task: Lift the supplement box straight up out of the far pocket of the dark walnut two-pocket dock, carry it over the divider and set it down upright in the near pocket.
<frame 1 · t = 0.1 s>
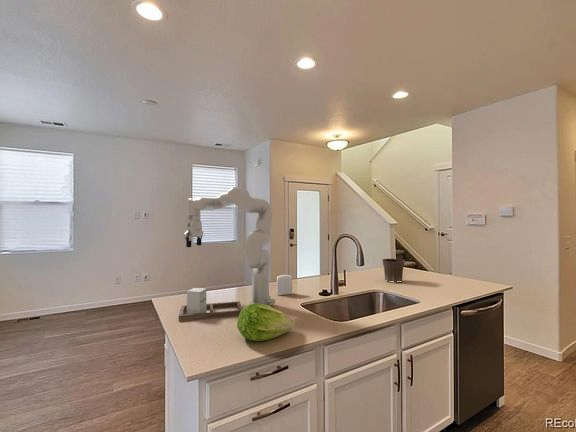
hand: (194, 246, 181), 31 cm above the worktop, fingers open, 9 cm apart
plant pot: (393, 281, 224), on the worktop
supplement box: (196, 314, 150), resting in dock
dock: (211, 312, 152), on the worktop
lettuce: (267, 337, 124), on the worktop
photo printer: (284, 294, 188), on the worktop
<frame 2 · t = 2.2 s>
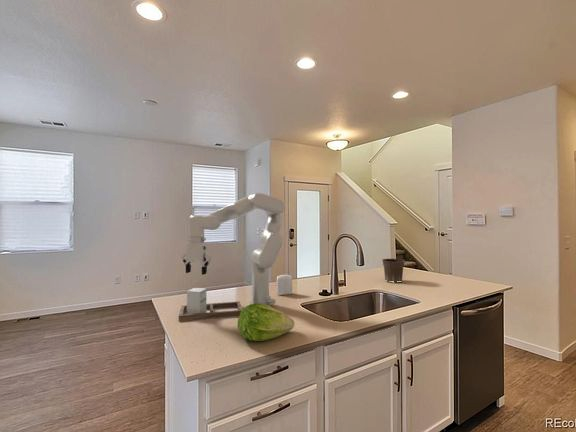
hand: (196, 273, 150), 21 cm above the worktop, fingers open, 9 cm apart
nothing on the worktop moved.
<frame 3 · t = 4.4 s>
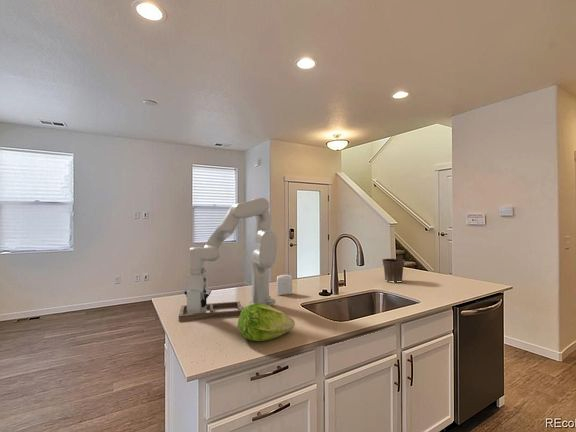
hand: (196, 305, 150), 5 cm above the worktop, fingers closed on supplement box, 8 cm apart
supplement box: (196, 314, 150), resting in dock, touching gripper
everything else where it was.
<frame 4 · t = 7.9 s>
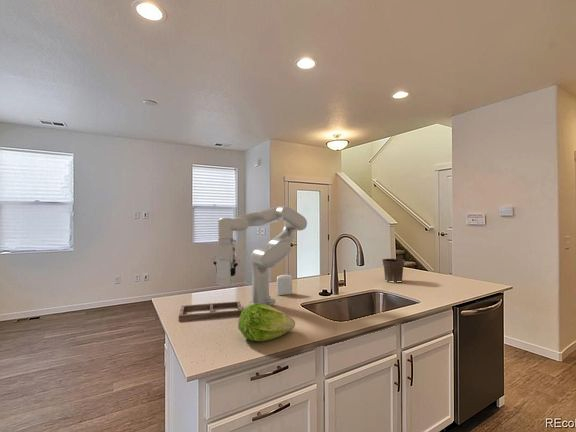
hand: (225, 274, 154), 19 cm above the worktop, fingers closed on supplement box, 8 cm apart
supplement box: (225, 283, 154), point 15 cm above the worktop, touching gripper
everything else where it was.
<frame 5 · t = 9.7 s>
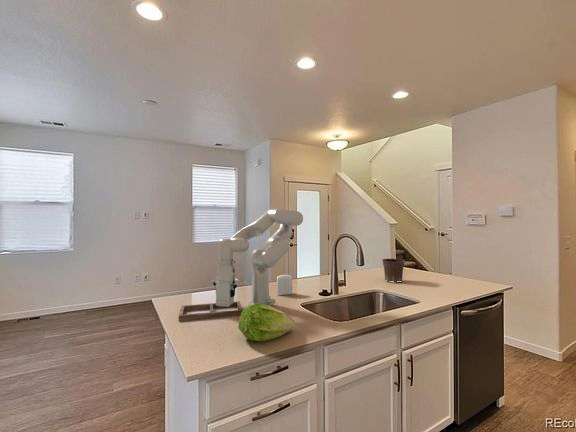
hand: (225, 295, 154), 8 cm above the worktop, fingers closed on supplement box, 8 cm apart
supplement box: (225, 304, 154), point 4 cm above the worktop, touching gripper
everything else where it was.
when the fingers open (5 cm above the worktop, at t = 11.4 s): supplement box stays where it is, resting in dock.
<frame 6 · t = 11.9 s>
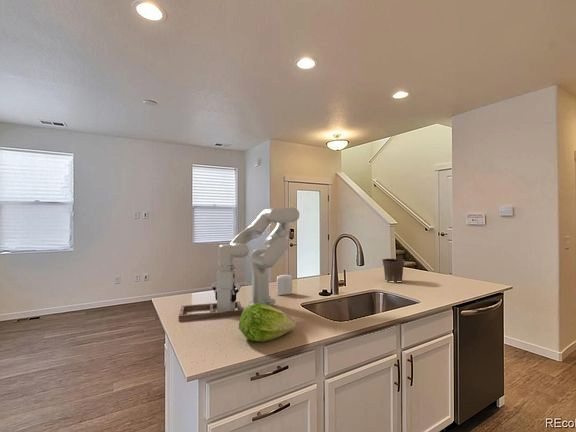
hand: (225, 300, 154), 6 cm above the worktop, fingers open, 9 cm apart
supplement box: (226, 312, 154), resting in dock
everything else where it was.
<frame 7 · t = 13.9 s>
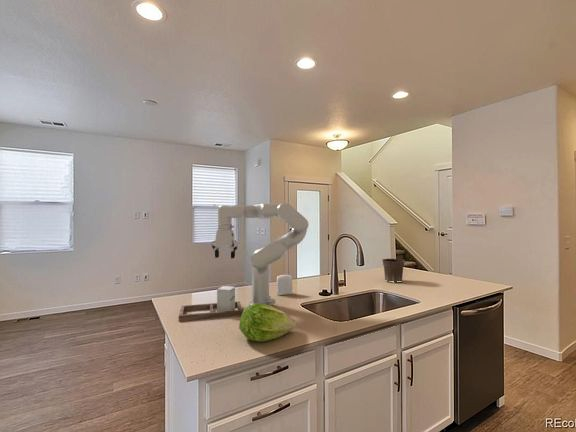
hand: (224, 257, 165), 26 cm above the worktop, fingers open, 9 cm apart
nothing on the worktop moved.
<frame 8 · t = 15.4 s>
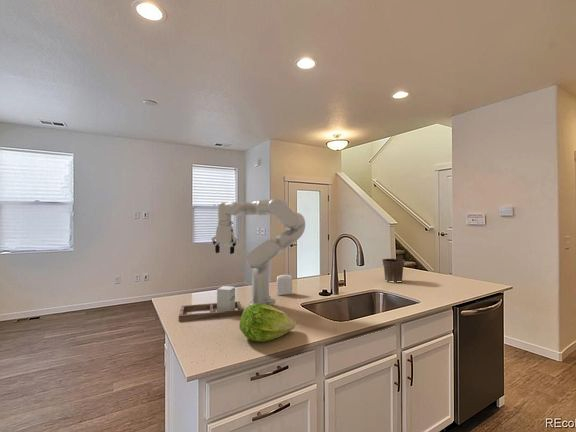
hand: (224, 253, 171), 28 cm above the worktop, fingers open, 9 cm apart
at the end: supplement box 0.2 cm from the target spot, resting in dock; supplement box tilted 0°; the gripper is holding nothing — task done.
